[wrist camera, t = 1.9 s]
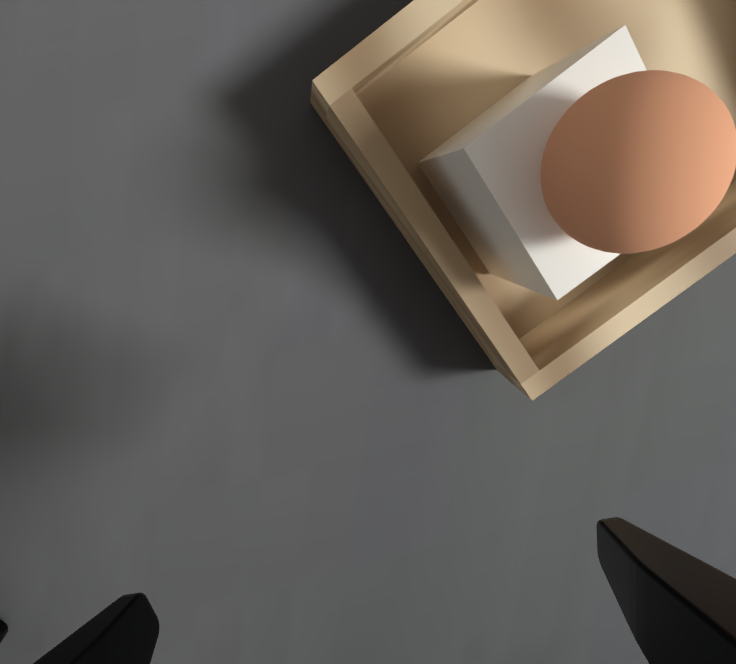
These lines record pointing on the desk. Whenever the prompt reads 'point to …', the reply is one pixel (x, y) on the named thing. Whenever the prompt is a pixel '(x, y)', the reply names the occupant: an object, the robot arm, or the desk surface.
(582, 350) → the tray
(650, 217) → the ball
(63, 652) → the robot arm
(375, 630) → the desk surface
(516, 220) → the stand
